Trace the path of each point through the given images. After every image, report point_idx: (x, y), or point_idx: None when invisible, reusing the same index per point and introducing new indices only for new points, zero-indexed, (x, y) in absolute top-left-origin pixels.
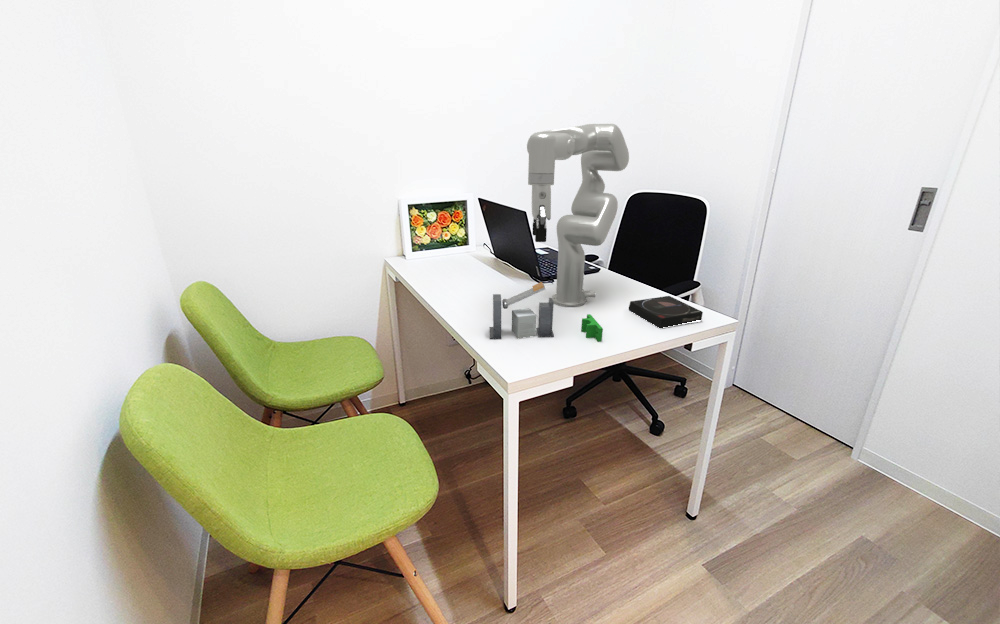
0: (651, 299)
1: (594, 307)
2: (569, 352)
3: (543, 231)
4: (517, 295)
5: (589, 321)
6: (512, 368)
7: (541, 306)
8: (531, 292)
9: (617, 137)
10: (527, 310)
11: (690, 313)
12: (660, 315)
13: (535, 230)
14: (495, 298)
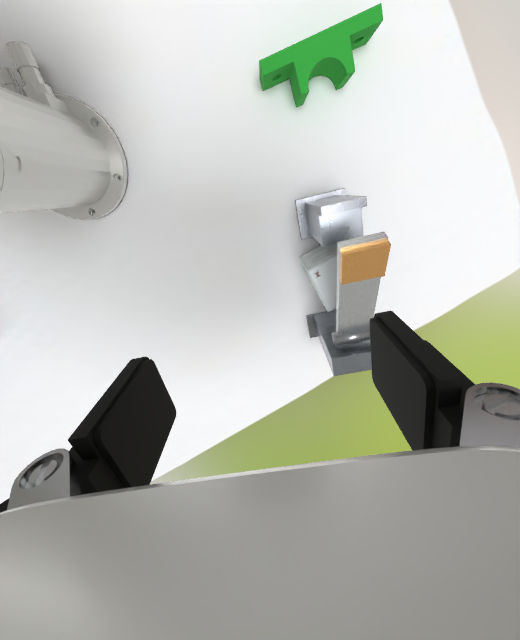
0: None
1: (92, 59)
2: (429, 137)
3: (468, 385)
4: (345, 316)
5: (316, 64)
6: (490, 262)
7: (356, 235)
8: (376, 279)
9: None
10: (329, 273)
11: None
12: None
13: (158, 427)
14: (366, 365)
